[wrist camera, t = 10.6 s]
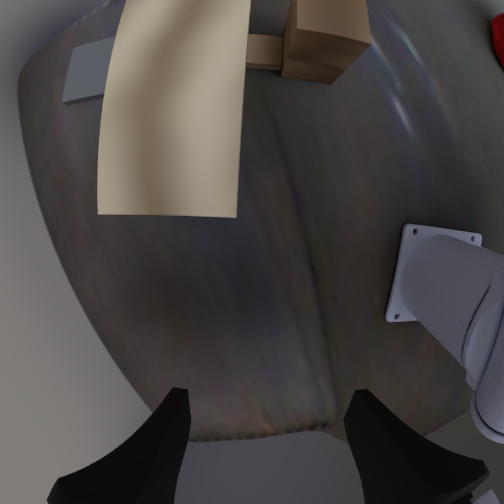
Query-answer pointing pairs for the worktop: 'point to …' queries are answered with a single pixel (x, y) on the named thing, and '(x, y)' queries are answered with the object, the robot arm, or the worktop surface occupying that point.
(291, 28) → the wooden mallet
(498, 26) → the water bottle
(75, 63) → the coaster
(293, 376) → the worktop surface
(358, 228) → the worktop surface
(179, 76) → the small wooden table
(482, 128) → the worktop surface
